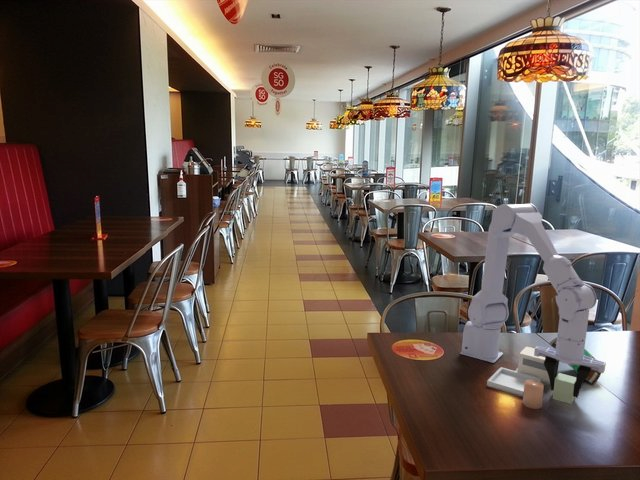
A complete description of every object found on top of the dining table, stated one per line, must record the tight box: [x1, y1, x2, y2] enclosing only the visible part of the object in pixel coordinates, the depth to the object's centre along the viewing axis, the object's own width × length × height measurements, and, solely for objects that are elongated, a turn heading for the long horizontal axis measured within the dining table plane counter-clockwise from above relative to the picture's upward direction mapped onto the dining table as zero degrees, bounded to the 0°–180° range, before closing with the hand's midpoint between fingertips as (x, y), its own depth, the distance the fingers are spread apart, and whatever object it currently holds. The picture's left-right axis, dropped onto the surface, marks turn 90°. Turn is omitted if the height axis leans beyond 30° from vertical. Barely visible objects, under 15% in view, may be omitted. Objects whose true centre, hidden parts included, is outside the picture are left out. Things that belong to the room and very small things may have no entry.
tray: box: [486, 366, 542, 398], centre depth 120 cm, size 10×10×1 cm
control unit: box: [514, 346, 560, 388], centre depth 125 cm, size 10×8×6 cm
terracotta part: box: [522, 380, 545, 410], centre depth 111 cm, size 4×4×5 cm
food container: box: [548, 337, 602, 386], centre depth 125 cm, size 12×6×10 cm
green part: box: [552, 372, 576, 405], centre depth 114 cm, size 4×4×5 cm
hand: (564, 392), depth 114 cm, fingers open, 4 cm apart
